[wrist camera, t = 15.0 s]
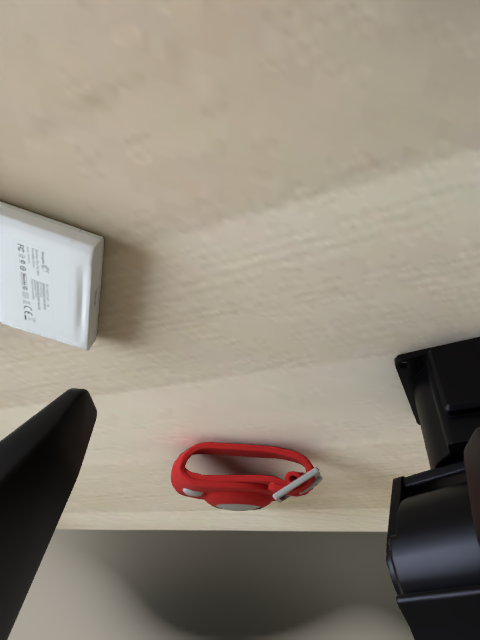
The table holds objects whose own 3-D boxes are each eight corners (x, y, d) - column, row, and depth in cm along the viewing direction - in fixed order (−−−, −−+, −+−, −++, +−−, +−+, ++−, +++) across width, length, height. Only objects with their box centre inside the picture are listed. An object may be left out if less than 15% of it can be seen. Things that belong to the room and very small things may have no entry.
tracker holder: (262, 517, 37) (158, 509, 34) (262, 468, 39) (164, 456, 36) (339, 503, 27) (203, 490, 24) (333, 439, 30) (208, 420, 27)
